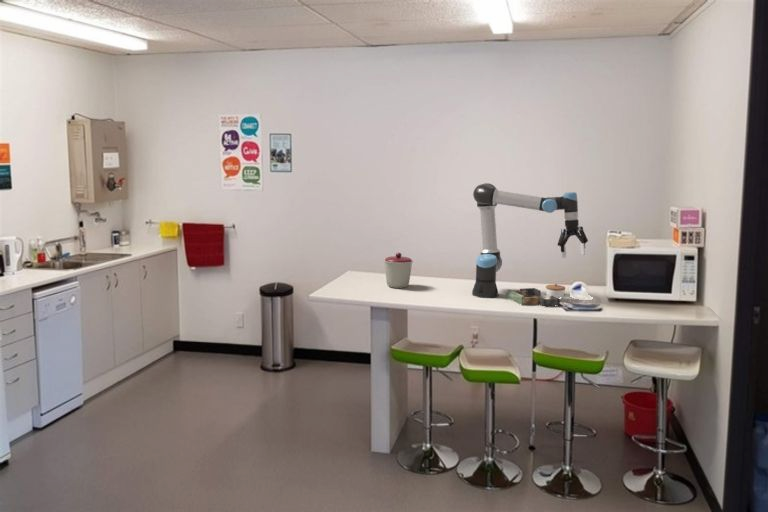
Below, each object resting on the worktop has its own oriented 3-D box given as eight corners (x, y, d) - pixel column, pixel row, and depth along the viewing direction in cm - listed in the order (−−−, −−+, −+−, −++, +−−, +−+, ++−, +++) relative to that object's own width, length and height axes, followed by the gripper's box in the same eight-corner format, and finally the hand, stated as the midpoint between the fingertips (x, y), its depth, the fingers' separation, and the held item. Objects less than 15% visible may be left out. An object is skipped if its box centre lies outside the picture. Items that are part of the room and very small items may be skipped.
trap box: (526, 307, 366) (527, 298, 365) (503, 296, 393) (503, 287, 393) (559, 306, 371) (559, 297, 370) (534, 294, 399) (534, 286, 398)
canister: (382, 283, 422) (383, 250, 419) (411, 283, 423) (412, 250, 419) (383, 289, 404) (384, 254, 401) (413, 289, 405) (414, 255, 401)
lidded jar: (564, 302, 380) (565, 286, 379) (545, 301, 382) (546, 285, 381) (563, 298, 391) (564, 282, 389) (544, 297, 393) (545, 281, 391)
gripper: (558, 222, 376) (560, 259, 379) (593, 217, 386) (594, 253, 389) (549, 221, 383) (552, 258, 386) (584, 216, 393) (586, 252, 396)
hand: (573, 256), depth 387 cm, fingers open, 13 cm apart
